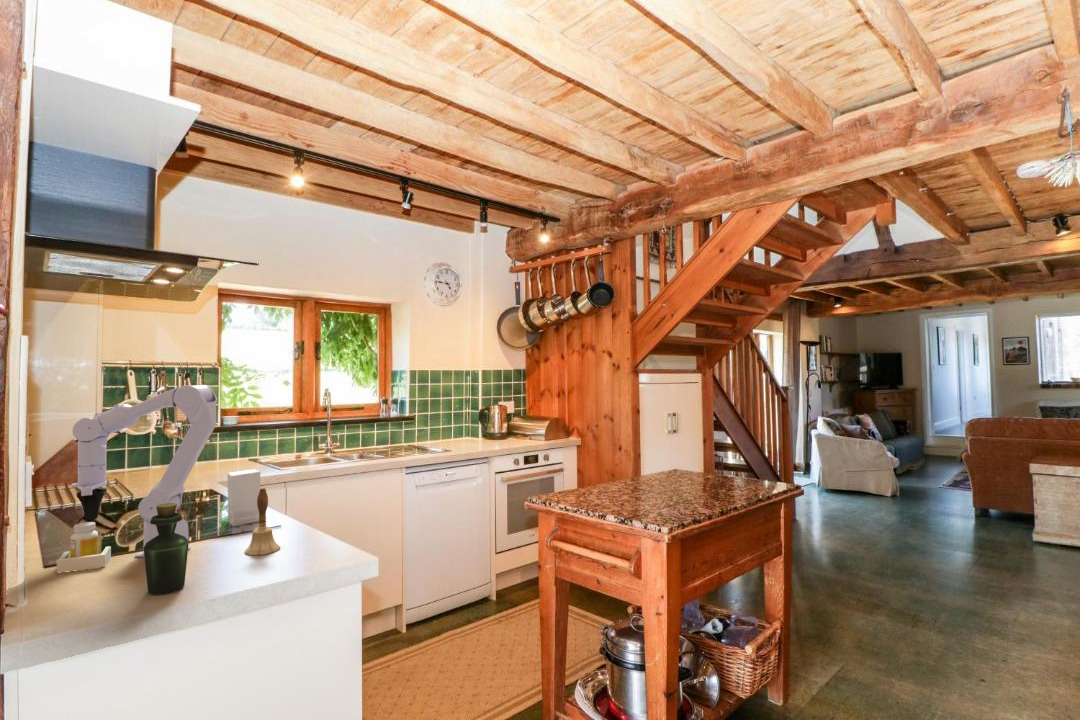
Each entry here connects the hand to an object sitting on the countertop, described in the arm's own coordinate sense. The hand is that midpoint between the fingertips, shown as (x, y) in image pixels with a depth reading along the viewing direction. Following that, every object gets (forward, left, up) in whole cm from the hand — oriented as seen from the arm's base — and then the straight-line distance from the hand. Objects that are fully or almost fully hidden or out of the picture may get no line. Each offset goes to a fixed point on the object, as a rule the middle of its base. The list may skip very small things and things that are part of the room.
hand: (91, 519), depth 144 cm
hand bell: (-40, -10, -10) cm, 43 cm away
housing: (-5, +6, -9) cm, 12 cm away
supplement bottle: (-3, +5, -10) cm, 11 cm away
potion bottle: (-36, +17, -10) cm, 41 cm away
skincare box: (-17, -35, -10) cm, 40 cm away
